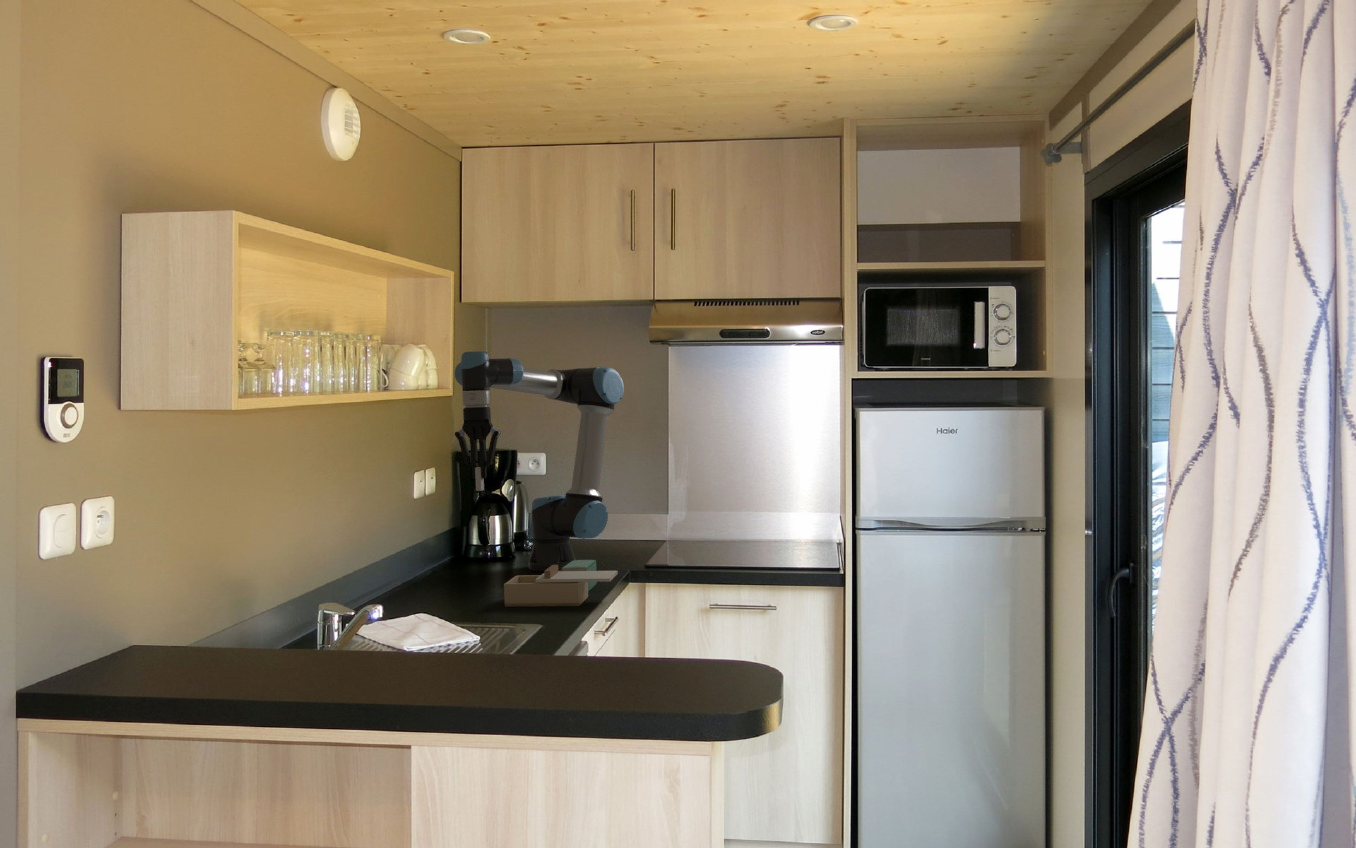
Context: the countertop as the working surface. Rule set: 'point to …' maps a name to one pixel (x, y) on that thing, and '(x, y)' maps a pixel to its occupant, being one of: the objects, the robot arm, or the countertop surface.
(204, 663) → the countertop surface
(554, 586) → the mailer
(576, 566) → the box
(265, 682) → the countertop surface
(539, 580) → the lid
